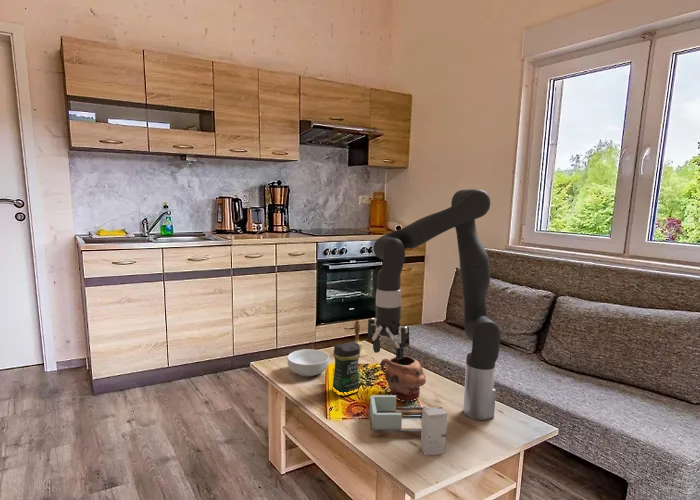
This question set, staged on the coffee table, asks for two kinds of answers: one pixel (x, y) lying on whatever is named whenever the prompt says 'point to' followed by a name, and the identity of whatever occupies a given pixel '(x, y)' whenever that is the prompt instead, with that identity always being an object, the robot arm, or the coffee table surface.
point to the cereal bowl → (308, 362)
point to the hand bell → (357, 329)
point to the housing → (384, 419)
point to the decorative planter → (404, 377)
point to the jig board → (404, 431)
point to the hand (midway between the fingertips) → (387, 355)
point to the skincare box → (433, 430)
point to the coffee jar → (346, 367)
